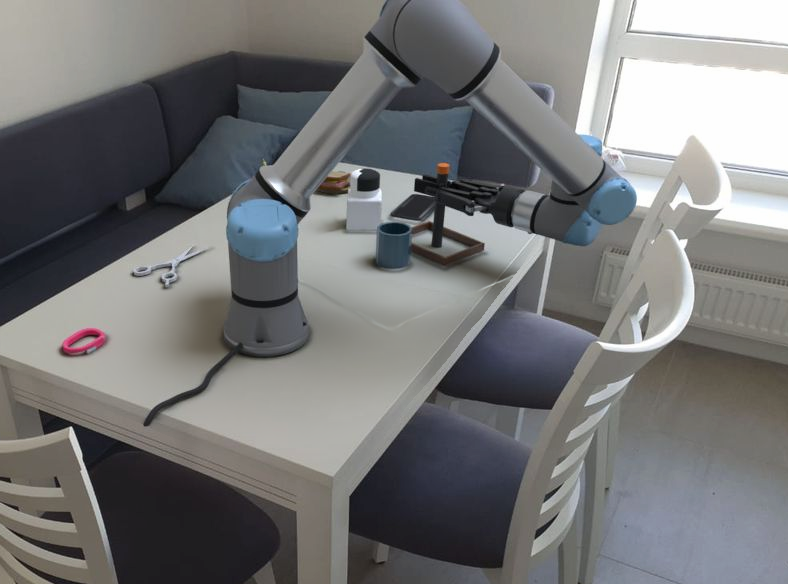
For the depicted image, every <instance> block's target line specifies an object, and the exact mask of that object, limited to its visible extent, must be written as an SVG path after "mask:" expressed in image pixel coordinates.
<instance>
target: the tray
mask: <svg viewBox="0 0 788 584" xmlns="http://www.w3.org/2000/svg"><path fill="white" fill-rule="evenodd" d="M411 227H412V236H414V235H416V234H419V233H422V232H425V231H428V230H430V231H432V232H433V221H431V220H428V221H426V222H425V221H424V222H422V223H420V224H416V225H414V226H411ZM443 236H445V237H447V238H449V239H452V240H454V241H457V242H459V243H462V244H464V245H466V246H469V247H467V248H465V249H462V250H460V251H456V252H455V253H452V254H449V255H447V256H443V255H442V254H439V253H437V252H435V251H433V250H430V249H427V248H426V247H422V246H421V245H418V244H416V243H413V242H412V244H411V253H414V254H416V255H418V256H421V257H423V258H425V259H427V260H430V261H432V262H434V263H436V264H439V265H441V266H443V267H446V266H448V265H451V264H453V263H456V262H458V261H461V260H463V259H466V258H468V257H471V256H474V255H476V254H479V253H481V252H483V251H485V245H486V243H485V242H484V241H481V240H478V239H475V238H473V237H470V236H468V235H465V234H464V233H461V232H458V231H456V230H453V229H450V228H448V227H445V226H443Z"/></svg>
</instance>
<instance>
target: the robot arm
mask: <svg viewBox="0 0 788 584" xmlns="http://www.w3.org/2000/svg"><path fill="white" fill-rule="evenodd" d="M362 46H363V49H362V54H361V55H360V57H359V58H358V59H357V60H356V62H354V64H353V65H352V67H351V68H350V69H349V70H348V71H347V73H346V74H345V75H344V77H343V78H342V79H341V80H340V82H339V83H338V84H337V85H336V87H335V88H334V89H333V90H332V91H331V93H330V94H329V95H328V96H327V98H326V99H325V101H324V102H323V103H322V104H321V105H320V106H319V108H318V109H317V110H316V112H314V114H313V115H312V116H311V118H310V119H309V120H308V122H307V123H306V124H305V125H304V126H303V128H302V129H300V131H299V133H298V134H297V135H296V137H295V138H294V139H293V140H292V141H291V143H290V144H289V145H288V146H287V148H286V149H285V150H284V151H283V153H282V154H281V155H280V156H279V157H278V159H277V160H276V161H275V162H274V164H272V165H271V164H270V165H269V164H268V165H266V166H264V165H262V166H260V167H259V168H258V170H257V171H256V172H255V174H254V175H253V176H252V177H251V178H249V179H247V180H245V181H243V182H242V183H241V184H239V185H238V186H237V187H236V188H235V189H234V191H233V192H232V194H231V196H230V199H229V201H228V204H227V208H226V228H225V235H226V240H227V247H228V262H229V263H228V264H229V278H230V280H229V281H230V291H231V292H230V293H231V294H230V295H231V300H230V303H229V307H228V310H227V314H226V318H225V320H224V323H223V339H224V342H225V343H226V345H227V346H228V347H229V348H231V350H230V351H229V352H228V353H227V354H225V356H223V357H222V358H221V359H220V360H219V361H218V362H217V363H216V364H215V365H213V366H212V367H211V368H210V369H209V371H208V372H207V373H206V375H205V377H204V379H203V381H202V382H201V384H199V386H197V387H195V388H192V389H190V390H186V391H183V392H181V393H178V394H176V395H174V396H172V397H170V398H168V399H166V400H163V401H162V402H159V403H157V404H156V405H155V406H154V407H153V408H152V409H151V410H150V412H149V413H148V414H147V416H146V417H145V420H144V422H143V427H145V428H146V427H149V426H150V425H151V423H152V422H153V420H154V418H155V417H156V415H157V414H158V413H159V412H160V411H161V410H163V409H164V408H166V407H168V406H170V405H173V404H174V403H177V402H178V401H180V400H183V399H185V398H188V397H192V396H195V395H197V394H199V393H201V392H202V391H204V390H205V389H206V388H207V387H208V386H209V384H210V381H211V379H212V377H213V376H214V375H215V374H216V373H217V372H218V371H219V370H220V369H221V368H222V367H223V366H224V365H225V364H227V363H228V362H229V361H230V360H231V359H232V358H233V357H234V356H235V355H236V354H237V353H240V354H243V355H246V356H252V357H261V358H262V357H263V358H264V357H266V358H267V357H277V356H282V355H285V354H290V353H292V352H294V351H296V350H298V349H300V348H302V347H303V346H304V345H305V344H306V342H307V341H308V339H309V336H310V335H309V334H310V326H309V321H308V317H307V315H306V314H305V310H304V307H303V305H302V302H301V299H300V297H299V273H298V272H299V270H298V263H299V262H298V237H299V224H300V222H301V221H303V219H305V217H306V216H307V215H308V213H309V212H310V211H311V208H312V207H311V197H312V195H314V193H316V191H317V188H318V187H319V186H320V185H321V183H322V182H323V181H324V180H325V179H326V177H327V176H328V175H329V174H330V173H331V172H332V171H334V170H335V168H336V167H337V166H338V164H340V162H341V161H342V160H343V159H344V157H345V156H346V155H347V154H348V153H349V151H350V150H351V149H352V148H353V147H354V145H355V144H356V143H357V142H358V141H359V140H360V139H361V137H362V136H363V135H364V134H365V133H366V131H367V130H368V129H369V128H370V127H371V126H372V124H374V122H375V121H376V120H377V118H378V117H379V116H380V115H381V114H382V113H383V112H384V110H385V109H386V107H388V105H389V104H390V103H391V102H392V101H393V99H394V98H395V97H396V96H397V95H398V93H400V91H401V90H404V89H407V88H408V89H409V88H415V87H416V86H417V85H418V84H419V83H420V81H422V79H423V78H426V79H428V80H429V81H431V82H432V83H434V84H435V85H436V86H438V87H439V88H441V90H443V91H444V92H445V93H446V94H447V95H449V96H450V97H451V98H452V99H453V100H454V101H466V102H467V103H468V104H469V105H470V106H471V107H472V108H473V109H474V110H476V111H477V112H478V113H479V114H480V115H481V116H482V117H483V118H485V120H486V121H488V122H489V123H490V124H491V125H492V126H493V127H494V128H495V129H496V130H497V131H498V132H500V134H502V135H503V136H504V137H505V138H506V139H507V140H508V141H509V142H510V143H512V144H513V145H514V146H515V147H516V148H517V149H518V150H519V151H520V152H521V153H522V154H523V155H525V156H526V157H527V158H528V159H529V160H530V161H531V162H532V163H533V164H534V165H536V166H537V167H538V168H539V169H540V170H541V171H542V172H543V173H544V174H545V175H546V176H548V178H550V179H551V186H550V192H549V194H544V193H541V192H537V191H532V190H529V189H528V190H525V189H523V188H519V187H516V186H515V187H514V186H511V185H506V186H505V185H497V184H491V183H486V182H480V181H475V180H469V179H465V178H460V179H458V181H457V180H452V181H451V180H448V182H447V188H446V187H444V183H441V184H438V183H437V176H433V175H428V174H422V177H421V178H419V177H416V178H414V184H413V185H414V186H413V192H416V193H417V194H421V195H425V196H431V197H437V198H436V203H438V204H441V205H444V206H445V208H446V207H447V208H449V209H452V210H455V211H458V212H460V213H463V214H465V216H466V215H467V216H468V217H474V215H475V212H479V213H481V214H484V215H491V216H492V218H493V221H494V222H495V223H496V224H497V225H500V226H504V227H508V228H514V229H516V230H520V231H522V232H526V233H527V234H528V235H532V234H534V235H538V236H542V237H545V238H548V239H551V240H554V241H557V242H561V243H563V244H566V245H572V246H578V247H587V246H589V245H590V244H592V243H593V242H594V241H595V240H596V238H597V236H598V235H599V233H600V232H601V228H602V225H603V226H614V225H617V224H620V223H622V222H624V221H625V220H627V218H629V217H630V216H631V215H632V213H633V212H634V211H635V209H636V205H637V201H638V196H637V192H636V190H635V188H634V187H633V186H632V185H631V183H630V182H629V181H628V180H627V179H626V178H624V177H622V176H621V175H620V174H619V173H618V172H617V171H616V170H615V169H614V168H613V167H612V166H611V165H609V164H608V162H606V161H605V160H604V159H603V157H602V156H603V142H602V140H601V139H600V138H598V137H596V136H593V135H588V134H579V133H577V132H576V131H575V130H574V129H573V128H572V127H571V126H570V125H569V124H568V123H567V122H566V121H565V120H564V119H563V118H562V117H560V116H559V114H557V112H556V111H555V110H554V109H552V107H550V106H549V105H548V104H547V102H545V101H544V100H543V99H542V98H541V97H540V96H539V95H538V94H537V93H536V92H535V91H534V90H533V89H532V88H531V87H530V86H529V85H528V84H527V83H526V82H525V81H524V80H523V79H522V78H521V77H520V76H519V75H518V74H517V73H516V72H515V71H513V70H512V69H511V68H510V66H508V64H506V62H504V61H503V60H502V58H501V57H502V48H500V47H499V45H498V44H497V43H495V42H494V40H493V39H492V38H491V37H490V36H489V35H488V34H487V33H486V31H485V30H484V28H482V27H481V26H480V24H479V23H478V22H477V20H476V19H475V17H474V16H473V15H472V14H471V11H469V10H468V8H467V7H466V6H465V4H464V3H463V2H462V1H460V0H385V1H384V2H383V5H382V7H381V10H380V13H379V16H378V19H377V20H376V22H375V23H374V24H373V25H372V26H371V28H370V29H369V30H368V32H367V33H366V34H365V36H364V37H363V39H362Z"/></svg>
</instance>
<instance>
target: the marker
mask: <svg viewBox="0 0 788 584" xmlns="http://www.w3.org/2000/svg"><path fill="white" fill-rule="evenodd" d="M436 166H437V167H436V173H437V174H436V177H437V183H438V184H441V183H444V187H446V188H447V182H448V181H449V180H448V179H449V173H450V164H449V163H446V162H440V163H437V165H436ZM436 198H437V197H435V209H434V211H433V221H432V222H433V231H432V233H431V234H432V235H431V245H430V246H431V247H432V248H434V249H440V248H442V247H443V236H444V235H443V227H445V226H444V225H445V213H446V206H444V205H441V204H438V203H436Z"/></svg>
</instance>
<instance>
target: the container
mask: <svg viewBox="0 0 788 584" xmlns="http://www.w3.org/2000/svg"><path fill="white" fill-rule="evenodd" d="M350 174H351V183H350V189H348V192H347V198H346V225H345V227H346V230H347V231H377V226H379V225H380V224H382V206H383V190H382V189H381V188H380V185H381V173H380V172H379V171H377V170H376V169H373V168H365V167H364V168H358V169H355V170H353V171H352V172H351V173H350Z"/></svg>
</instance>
